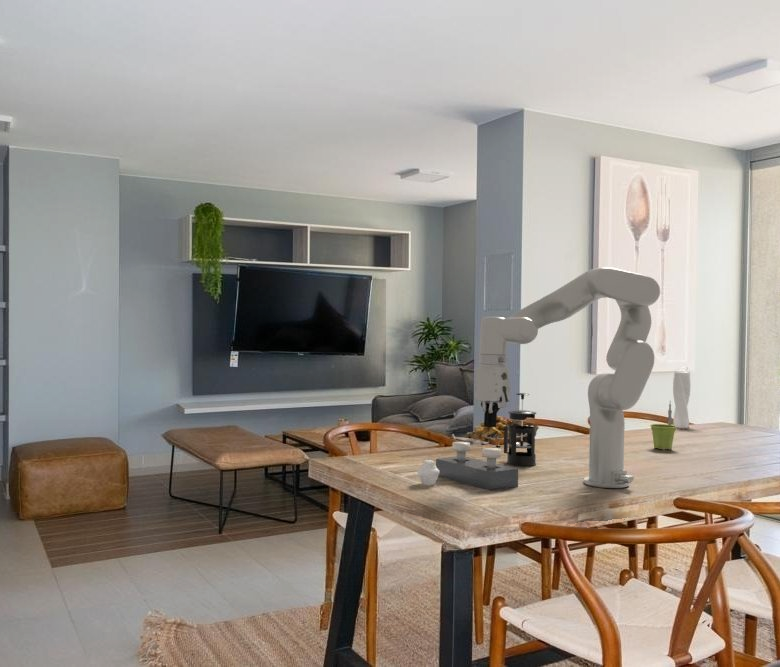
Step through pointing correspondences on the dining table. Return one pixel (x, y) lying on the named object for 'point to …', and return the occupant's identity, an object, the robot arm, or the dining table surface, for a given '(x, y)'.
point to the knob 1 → (461, 450)
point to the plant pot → (663, 435)
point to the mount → (478, 473)
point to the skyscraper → (680, 399)
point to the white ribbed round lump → (428, 473)
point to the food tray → (495, 432)
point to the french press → (521, 457)
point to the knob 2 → (491, 456)
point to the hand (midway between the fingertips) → (490, 426)
